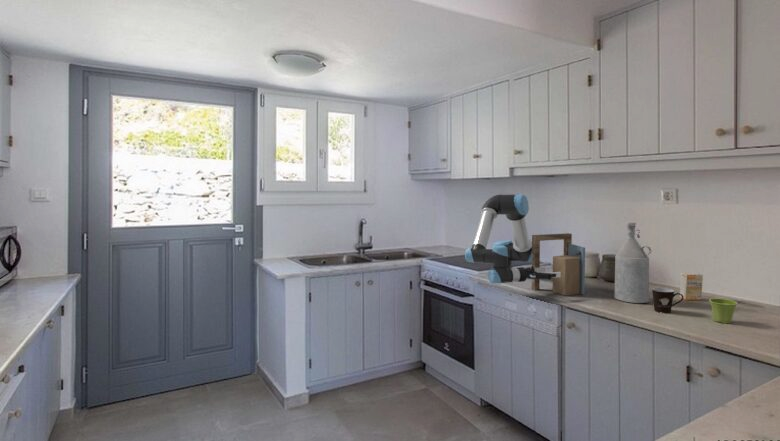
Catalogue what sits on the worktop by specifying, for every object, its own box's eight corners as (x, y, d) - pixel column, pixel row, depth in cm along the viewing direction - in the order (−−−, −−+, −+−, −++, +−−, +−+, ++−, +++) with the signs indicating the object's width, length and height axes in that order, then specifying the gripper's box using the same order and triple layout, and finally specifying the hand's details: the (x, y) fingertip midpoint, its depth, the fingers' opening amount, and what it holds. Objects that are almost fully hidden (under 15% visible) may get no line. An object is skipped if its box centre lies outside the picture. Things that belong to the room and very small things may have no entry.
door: (564, 287, 245) (565, 243, 244) (569, 286, 246) (570, 243, 244) (579, 294, 229) (579, 247, 227) (584, 293, 229) (585, 247, 227)
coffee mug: (649, 311, 197) (649, 290, 197) (654, 307, 203) (654, 286, 203) (678, 316, 189) (679, 294, 188) (683, 312, 195) (684, 290, 194)
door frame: (531, 289, 244) (532, 235, 242) (567, 286, 250) (568, 233, 247) (534, 290, 241) (535, 235, 239) (571, 287, 247) (571, 233, 244)
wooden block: (552, 292, 237) (552, 256, 235) (566, 290, 240) (567, 254, 239) (565, 296, 227) (565, 258, 226) (580, 294, 231) (580, 257, 229)
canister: (641, 306, 206) (643, 224, 203) (608, 298, 221) (609, 221, 218) (656, 302, 212) (659, 222, 209) (623, 295, 227) (625, 220, 224)
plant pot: (741, 325, 176) (742, 304, 175) (716, 324, 177) (716, 304, 177) (728, 318, 185) (728, 298, 184) (703, 317, 187) (704, 298, 186)
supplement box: (685, 300, 215) (686, 274, 214) (679, 298, 219) (680, 272, 218) (702, 300, 214) (703, 274, 213) (695, 297, 219) (696, 272, 218)
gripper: (505, 277, 238) (538, 274, 243) (530, 286, 214) (567, 283, 219) (505, 263, 237) (538, 261, 243) (530, 272, 213) (567, 269, 219)
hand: (552, 272), depth 231 cm, fingers open, 13 cm apart
